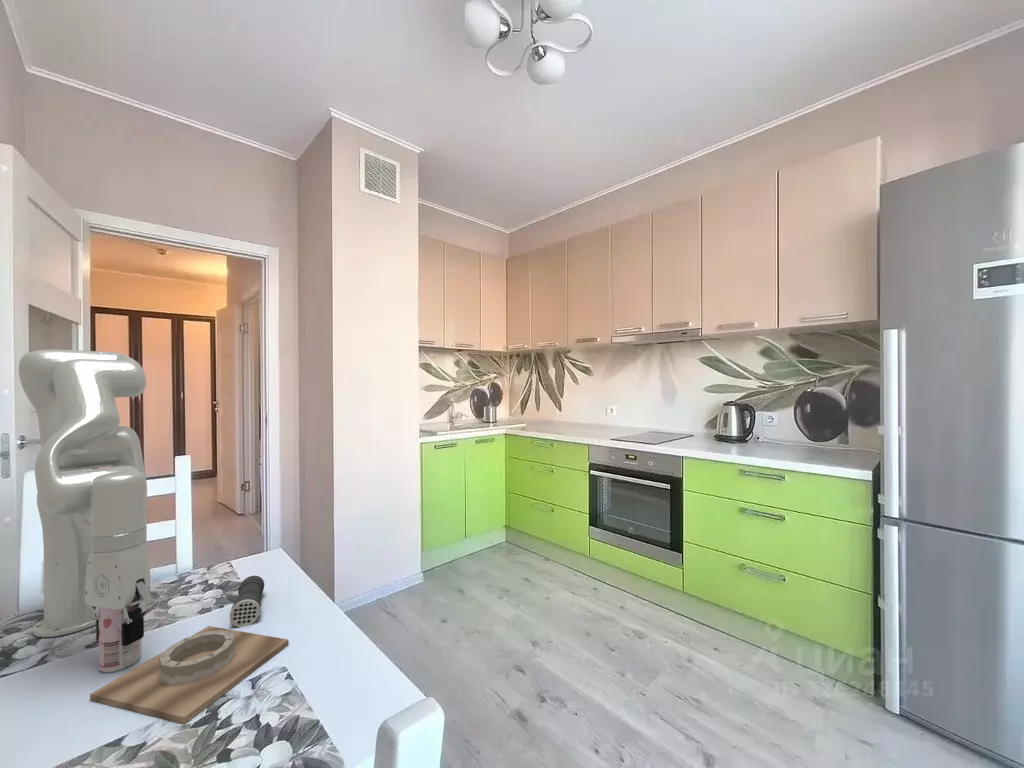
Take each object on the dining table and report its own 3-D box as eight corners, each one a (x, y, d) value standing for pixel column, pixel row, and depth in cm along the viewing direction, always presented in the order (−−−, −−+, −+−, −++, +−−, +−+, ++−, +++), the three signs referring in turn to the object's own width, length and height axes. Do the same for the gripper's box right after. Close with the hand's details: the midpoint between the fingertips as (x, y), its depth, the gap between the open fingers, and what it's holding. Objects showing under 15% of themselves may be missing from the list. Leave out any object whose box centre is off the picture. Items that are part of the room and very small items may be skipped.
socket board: (90, 700, 68) (89, 675, 68) (208, 630, 87) (208, 611, 87) (184, 724, 63) (184, 697, 63) (288, 644, 82) (288, 624, 82)
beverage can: (136, 649, 81) (135, 571, 81) (145, 660, 78) (144, 578, 78) (95, 665, 77) (94, 582, 77) (103, 678, 73) (102, 591, 73)
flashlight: (239, 598, 101) (239, 575, 102) (265, 592, 104) (265, 570, 104) (229, 630, 88) (229, 603, 88) (259, 623, 90) (259, 597, 90)
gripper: (61, 543, 76) (61, 644, 76) (130, 552, 72) (131, 659, 71) (110, 530, 83) (110, 622, 83) (176, 536, 79) (176, 634, 79)
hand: (120, 638), depth 77 cm, fingers closed on beverage can, 5 cm apart
